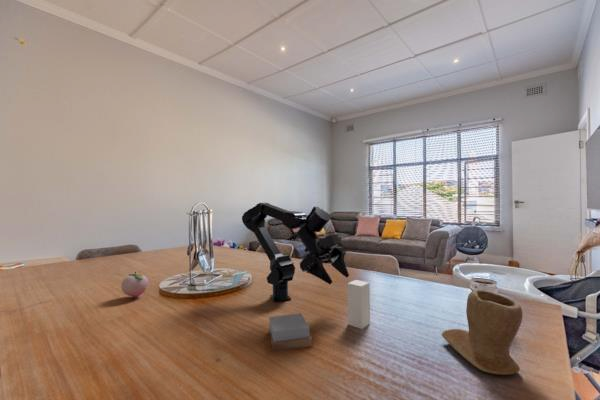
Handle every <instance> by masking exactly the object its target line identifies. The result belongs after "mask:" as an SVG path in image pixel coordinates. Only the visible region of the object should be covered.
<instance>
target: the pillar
mask: <svg viewBox="0 0 600 400" xmlns="http://www.w3.org/2000/svg"><path fill="white" fill-rule="evenodd" d="M370 291H371V290H370V282H368V281H363V280H358V279H354V280H352V281H349V282H347V323H348V325H349V326H351V327H355V328H358V329H360V330H363V329H365V328H366V327H367V326H369V325H371V307H370V306H371V301H370V298H371V297H370V295H371V294H370V293H371V292H370Z"/></svg>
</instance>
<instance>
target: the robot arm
mask: <svg viewBox="0 0 600 400" xmlns="http://www.w3.org/2000/svg"><path fill="white" fill-rule="evenodd" d="M267 217H271V218H273V219H275V220H277V221H280V222H282V225H283V226H284V227H286V228H288V229H289V230H296V229H298V230H297V231H294V232H293V233H294V235H293V238H292V239H293V241H297V240H300V241H301V243H302V244H303V246H304V248H305V249H304V252H305V253H307V254H306V255H305V256H304V258H303V259H301V261H300V262H299V268H300V269H301V272H302V273H304V272H305V273H306V274H309V275H312V276H314V277H316V278H318V279H320V280H321V281H324V282H325V283H327V284H329V285H331V284H333V280H332V277H330V275H329V273H328V272H327V270H326V269H325V267H324V264H323V263H324V262H325V261H328V262H329V263H330V266H332V267H333V268H334V269H335V270H336V271H337V272H339V273H340V274H341V275H343V276H344V277H345V278H349V277H350V274H349V271H348V269H347V266H346V262H345V256H346V253H347V249H346V248H345V247H344V246H337V245H340V244H342V243H341V241H342V236H341V235H340V234H339V233H337V232H332V233H331V234H330V235H327V236H325V237H320V236H319V235H318V233H321V231H323V229H324V228H325V227H326V225H327V224H328V223H329V222H330V220H331V218H332V217H331V215H330V214H329V213H328V212H326V211H325V210H324V209H322V208H320V207H319V206H313V207H312V209H311V211H310V213H309V214H308V215H307V214H306V213H305V212H303V211H294V210H292V211H291V210H287V209H284V208H281V207H280V206H279V207H278V206H276V205H273V204H271V203H269V202H259V203H257V204H256V205H255V206H253V207H252V208H249V209H248V210H247V211H245V212H244V213H243V214H242V216H241V221H242V223H243V225H244V226H245V228H246V229H248V230H249V231H250V232H252V233H253V234H254V235H255V238H256V239H257V240H258V243H259V244H260V245H261V247H262V249H263V251H264V253H265V255H266V256H267V258H268V260H269V269H270V270H269V271H270V273H269V274H268V275H267V277H266V281H267V284H270V285H272V294H270V295H269V297H270V299H271V300H272V301H273V302H274V303H277V302H283V301H290V300H292V297H291V296H290V295H289V282H292V281H293V279H294V276H295V273H296V272H295V271H296V267H295V266H296V265H295V262H294V261H293V260H292V259H291V256H290V255H288V254H286V255H284V254H282V252H281V251H280V250H279V247H278V246H277V244H276V243H275V240H274V238H272V236H271V235H270V232H269V231H268V230H267V228H266V226H265V224H266V218H267ZM334 246H337V247H334Z"/></svg>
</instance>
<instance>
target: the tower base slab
mask: <svg viewBox="0 0 600 400" xmlns="http://www.w3.org/2000/svg"><path fill="white" fill-rule="evenodd" d="M269 335H270V343H271V351H279V350H291V349H297V348H308V347H309V348H310V347H313V337H312V335H311V332H310V331H309V337H306V338H299V339H292V340H284V341H277V342H274V341H273V337H272V333H271V330H270V329H269Z"/></svg>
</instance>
